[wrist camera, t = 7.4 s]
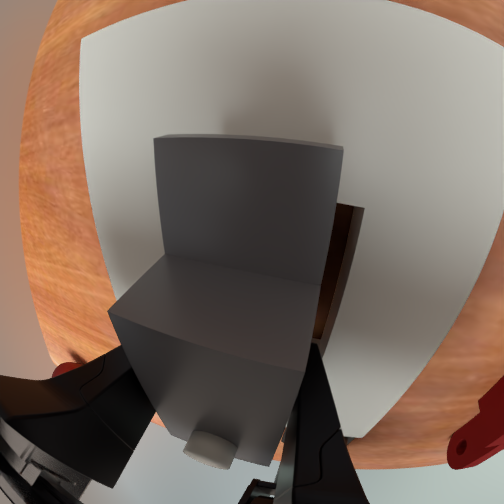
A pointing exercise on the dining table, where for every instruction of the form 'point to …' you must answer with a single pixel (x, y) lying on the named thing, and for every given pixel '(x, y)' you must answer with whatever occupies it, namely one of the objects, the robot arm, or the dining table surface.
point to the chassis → (322, 131)
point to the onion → (65, 368)
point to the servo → (231, 288)
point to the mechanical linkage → (480, 432)
